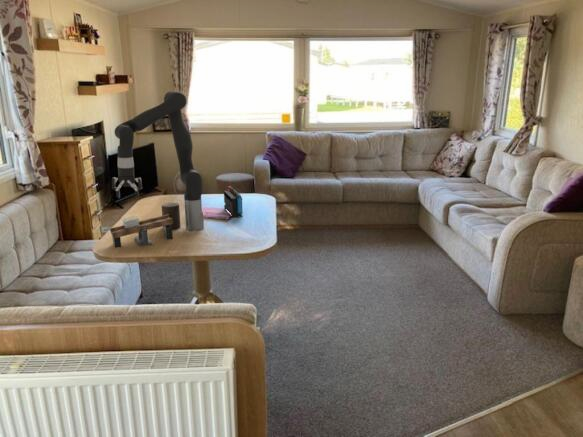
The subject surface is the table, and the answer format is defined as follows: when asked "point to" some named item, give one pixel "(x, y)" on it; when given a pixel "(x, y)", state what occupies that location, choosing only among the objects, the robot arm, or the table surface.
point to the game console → (233, 202)
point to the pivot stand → (145, 237)
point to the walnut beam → (147, 223)
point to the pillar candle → (172, 214)
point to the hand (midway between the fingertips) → (127, 198)
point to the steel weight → (130, 222)
